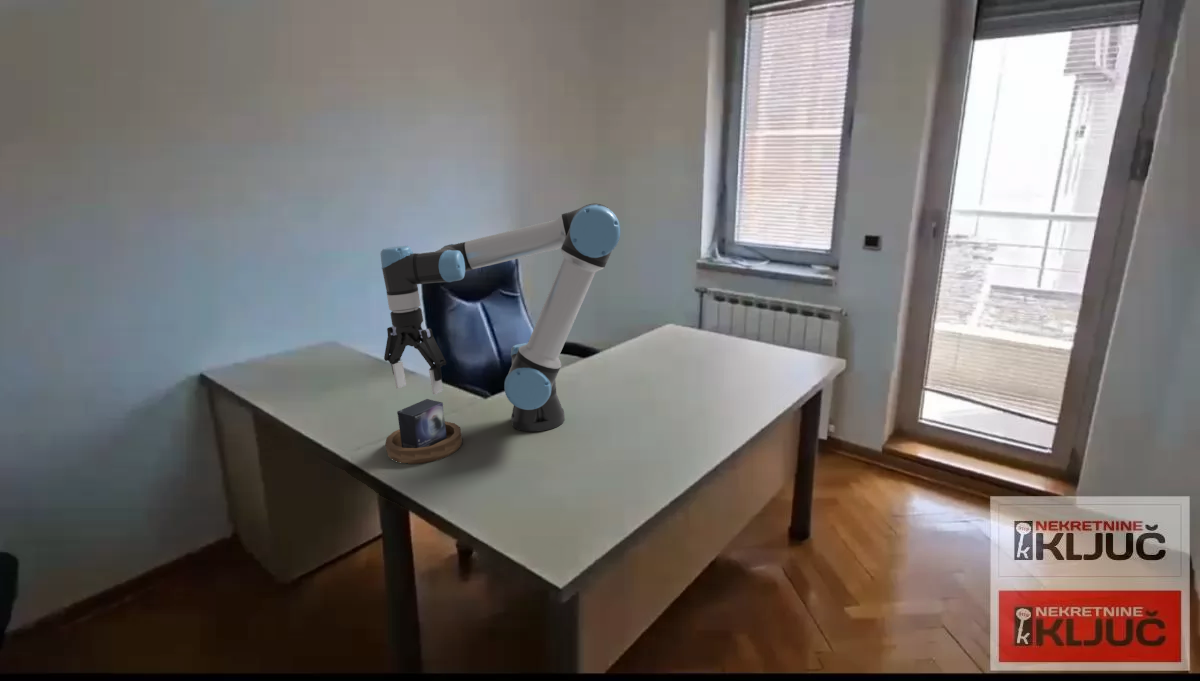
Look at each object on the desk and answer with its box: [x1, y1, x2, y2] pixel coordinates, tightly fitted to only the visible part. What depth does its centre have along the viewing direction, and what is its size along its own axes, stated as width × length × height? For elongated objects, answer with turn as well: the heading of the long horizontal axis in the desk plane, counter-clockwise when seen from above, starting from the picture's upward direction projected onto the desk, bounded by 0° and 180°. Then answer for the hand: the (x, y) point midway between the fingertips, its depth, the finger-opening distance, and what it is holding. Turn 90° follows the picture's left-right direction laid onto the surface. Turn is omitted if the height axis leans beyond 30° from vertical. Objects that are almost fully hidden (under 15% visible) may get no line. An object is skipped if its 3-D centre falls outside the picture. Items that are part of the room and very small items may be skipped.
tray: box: [384, 420, 463, 465], centre depth 163 cm, size 19×19×4 cm
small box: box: [396, 398, 447, 448], centre depth 162 cm, size 11×6×10 cm, turn 148°
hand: (419, 389), depth 159 cm, fingers open, 13 cm apart
